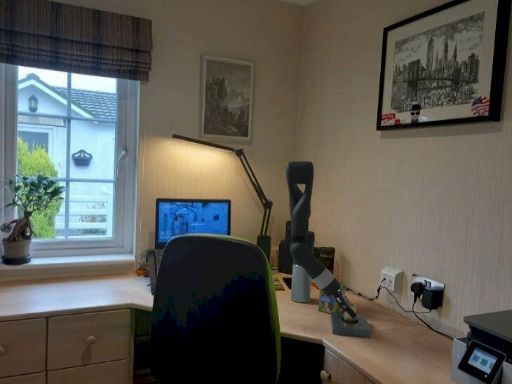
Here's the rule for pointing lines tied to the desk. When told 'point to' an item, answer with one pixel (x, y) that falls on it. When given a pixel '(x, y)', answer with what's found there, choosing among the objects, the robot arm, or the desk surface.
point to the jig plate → (350, 326)
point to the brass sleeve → (347, 317)
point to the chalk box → (330, 302)
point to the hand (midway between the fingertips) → (353, 313)
